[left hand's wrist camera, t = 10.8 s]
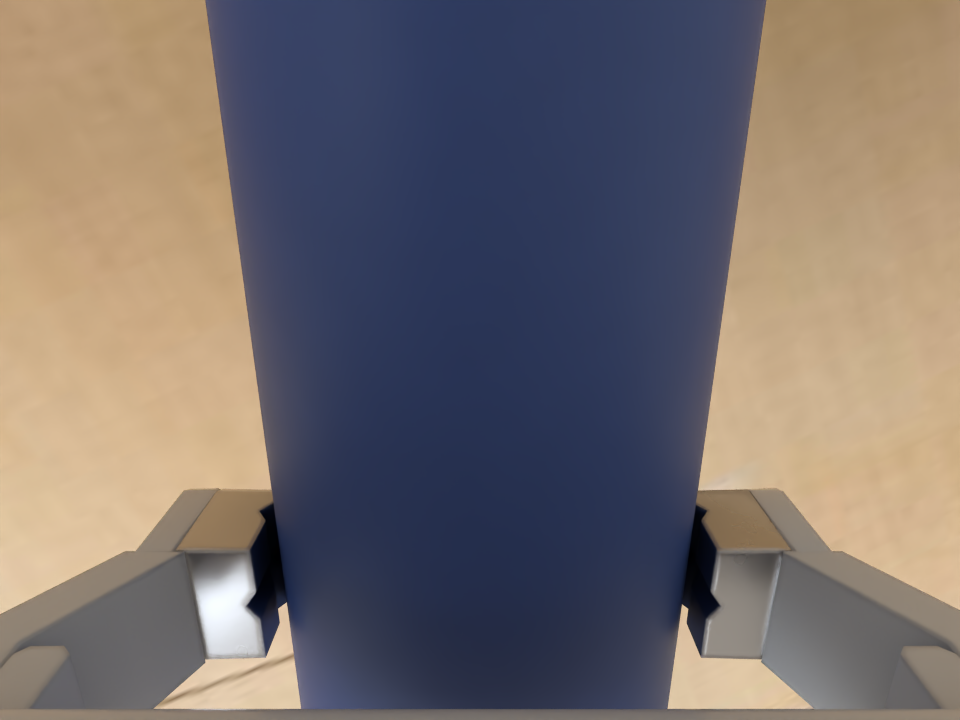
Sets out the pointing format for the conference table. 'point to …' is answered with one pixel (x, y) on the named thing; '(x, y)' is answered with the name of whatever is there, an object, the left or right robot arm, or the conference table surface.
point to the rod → (485, 329)
